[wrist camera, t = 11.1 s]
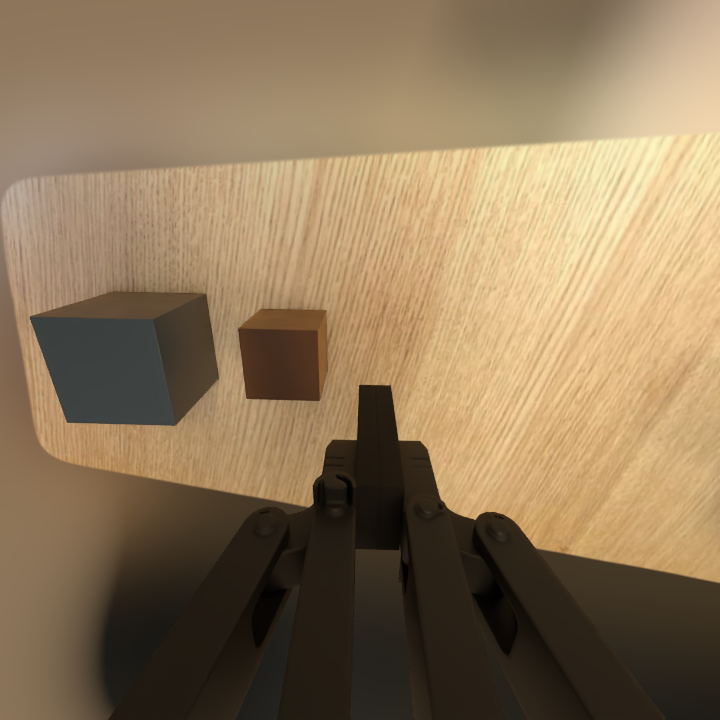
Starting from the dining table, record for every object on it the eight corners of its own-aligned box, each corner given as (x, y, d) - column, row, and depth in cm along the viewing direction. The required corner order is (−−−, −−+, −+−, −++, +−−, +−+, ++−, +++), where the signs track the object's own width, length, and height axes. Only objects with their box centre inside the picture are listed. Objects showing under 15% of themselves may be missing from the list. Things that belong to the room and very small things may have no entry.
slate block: (206, 293, 26) (152, 319, 19) (219, 378, 29) (175, 425, 22) (113, 291, 26) (28, 316, 20) (134, 376, 29) (66, 422, 22)
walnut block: (326, 310, 26) (318, 330, 22) (327, 370, 28) (319, 401, 24) (260, 308, 26) (237, 328, 22) (266, 369, 28) (246, 399, 24)
